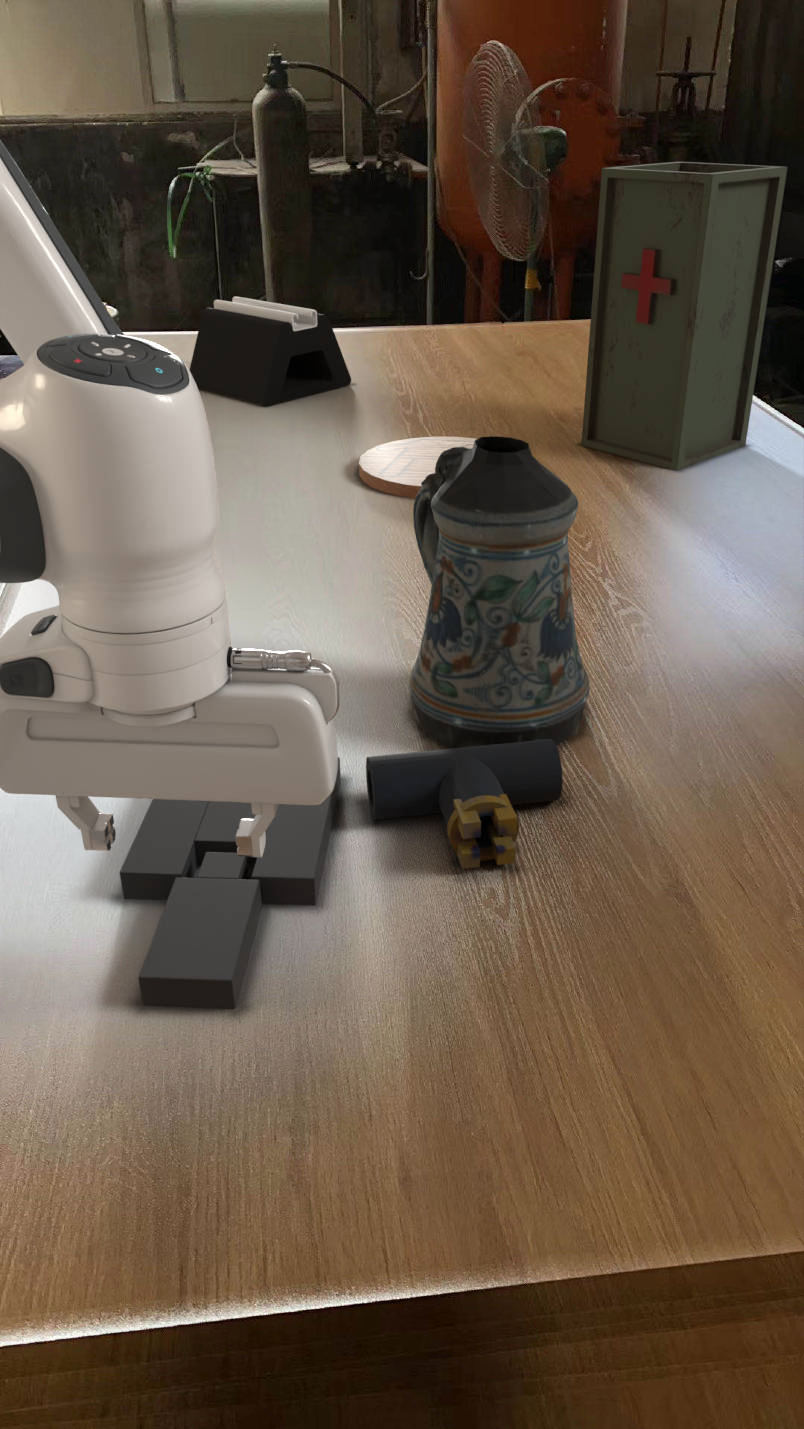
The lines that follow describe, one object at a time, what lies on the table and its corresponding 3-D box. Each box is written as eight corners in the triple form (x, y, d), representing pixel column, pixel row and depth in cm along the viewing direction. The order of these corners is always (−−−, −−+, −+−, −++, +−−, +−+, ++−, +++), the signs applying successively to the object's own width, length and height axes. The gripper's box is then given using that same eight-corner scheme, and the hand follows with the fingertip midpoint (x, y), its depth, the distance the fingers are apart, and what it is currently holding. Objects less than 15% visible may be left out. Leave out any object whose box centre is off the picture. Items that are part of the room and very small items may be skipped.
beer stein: (545, 778, 92) (564, 491, 79) (349, 722, 100) (338, 455, 87) (612, 694, 104) (637, 434, 92) (432, 651, 112) (433, 407, 100)
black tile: (142, 1006, 70) (137, 977, 68) (189, 877, 81) (185, 850, 79) (235, 1009, 69) (232, 980, 68) (269, 880, 80) (266, 853, 79)
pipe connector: (590, 802, 79) (387, 824, 77) (585, 861, 82) (388, 884, 80) (546, 726, 89) (365, 743, 87) (543, 780, 92) (367, 799, 90)
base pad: (123, 899, 79) (119, 872, 77) (177, 777, 92) (173, 752, 91) (316, 906, 78) (314, 878, 77) (340, 781, 92) (339, 756, 90)
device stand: (263, 407, 198) (256, 320, 190) (187, 387, 211) (178, 306, 204) (351, 384, 212) (348, 303, 204) (275, 367, 225) (269, 290, 218)
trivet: (342, 495, 155) (342, 482, 154) (377, 445, 176) (376, 433, 175) (518, 504, 151) (518, 491, 150) (531, 451, 172) (532, 439, 171)
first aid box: (581, 445, 175) (601, 168, 155) (650, 423, 186) (678, 161, 166) (676, 471, 163) (712, 174, 143) (745, 446, 174) (787, 166, 154)
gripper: (344, 627, 62) (349, 824, 69) (-6, 617, 63) (34, 812, 70) (330, 680, 57) (338, 888, 64) (-52, 667, 58) (-4, 873, 65)
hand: (176, 848), depth 67 cm, fingers open, 8 cm apart
